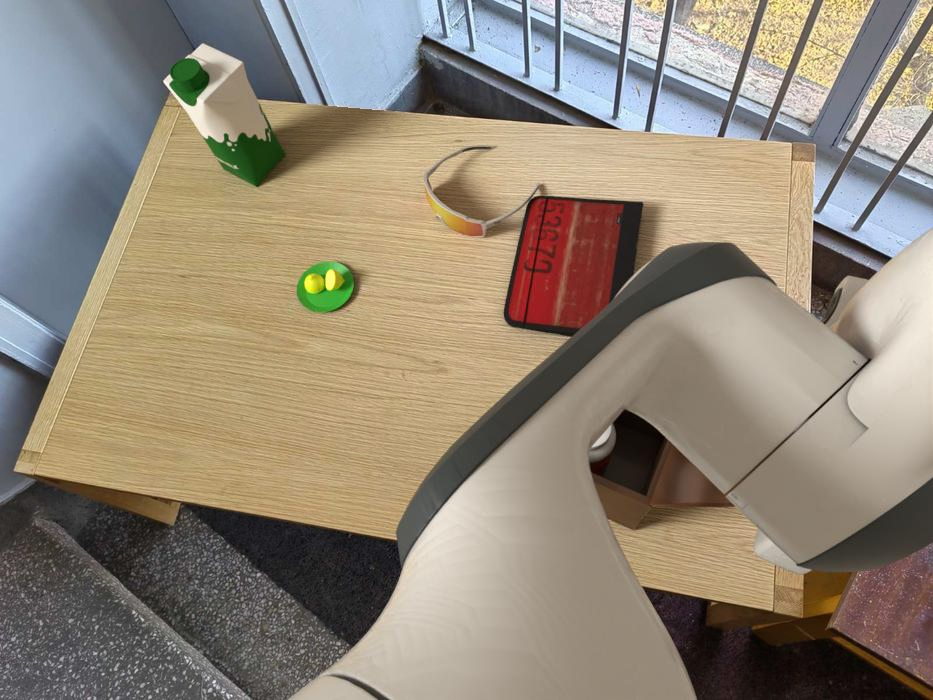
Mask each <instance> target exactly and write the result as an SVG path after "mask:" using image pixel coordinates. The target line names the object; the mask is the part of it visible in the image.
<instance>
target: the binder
mask: <svg viewBox="0 0 933 700" xmlns="http://www.w3.org/2000/svg"><path fill="white" fill-rule="evenodd" d="M643 208H644V201H632V200H615V199H597V198H583V197H570V196H553V195H536V196H533V197H532V198H531V199H530V200H529V201H528V202H527V203H526V208H525V211H524V217H523V220H522V223H521V229H520V231H519V232H520V233H519V237H518V242H517V246H516V249H515V255H514V260H513V264H512V269H511V273H510V277H509V281H508V287H507V292H506V296H505V302H504V307H503V319H504V321H505V323H506V324H507V325H509V326H510V327H512V328H516V329H521V330H527V331H533V332H538V333H545V334H552V335H559V336H565V337H569V338H571V337H572V336H573V335H574V334H575V333H577V332H578V331H579V330H580V329H581V328H582V327H584V326H585V325H586V324H587V323H588V322H589V321H591V320H592V319H593V318H594V317H595V316H596V315H597V314H599V313H600V312H601V311H602V310H603V309H604V308H605V307H606V306H607V305H608V304H609V303H610V302H611V301H612V300H613V299H614V298H615V296H616V295H617V293H618V292H619V291H620V290H621V288H622V287H623V286H624V285H625V283H626V282H627V281H628V280H629V279H630V278H631V277H632V276H633V275H634V274H635V265H636V257H637V251H638V242H639V237H640V229H641V223H642V214H643Z"/></svg>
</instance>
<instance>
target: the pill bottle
mask: <svg viewBox="0 0 933 700" xmlns="http://www.w3.org/2000/svg"><path fill="white" fill-rule="evenodd" d="M615 441H616V432H615V428H614V425H613V423H612V424H611V425H610V427H609V428H608V429H607V430H606V431H605V432H604V433H603V434H602V436H601V437H600V438H599V439H598V440H597V441H596V442H595V444H594V445H593V446H592V447H591V448H590V449H589V464H590V470H591V472H592V473H594V474H596V475H600V474H601V473H602V472H603V471H604V470H605V469H606V467H607V465H608V463H609V460H610V457H611V454H612V451H613V449H614V446H615Z"/></svg>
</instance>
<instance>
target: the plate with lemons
mask: <svg viewBox="0 0 933 700" xmlns="http://www.w3.org/2000/svg"><path fill="white" fill-rule="evenodd" d="M354 284H355V282H354V277H353V274H352V272H351V271H350V269H349V268H348V267H346V266H345V265H343V264H342V263H340V262H336V261H323V262H319V263H316V264H313V265H312V266H310V267H309V268H307V270H305V271H304V272H303V273H302V275H301V276H300V278H299V280H298V282H297V285H296V295H297V296H296V297H297V298H298V299H297V300H298V301H299V302H300V304H301V305H302V306H303V307H304V308H306V309H307V310H309V311H311V312H316V313H328V312H331V311H334V310H337V309H339V308H340V307H342V306H343V305H344V304H345V303H346V302H347V301H348V300H349V298H350V297H351V296H352V294H353V290H354V286H355V285H354Z"/></svg>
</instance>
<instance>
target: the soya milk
mask: <svg viewBox="0 0 933 700" xmlns="http://www.w3.org/2000/svg"><path fill="white" fill-rule="evenodd" d="M244 64H245V63H244V62H243V61H241V60H240V59H237V58H235V57H233V56H231V55H229V54H228V53H225V52H223V51H221V50H218V49H216V48H214V47H212V46H210V45H208V44H206V43H204V42H203V43H201V44H200V45H199V46H198V47H197V48H196V49H195V50H194V51H193V52H192V53H190V54H188V55H187V56H185V58H181V59H179V60H177V61H176V62H175V63H173V65H171V67H170V70H169V74H168V75H167V76H166V77H165V78H164V80H162V81H163V84H164V85H165V86H166V87H167V89H168V90H169V91H170V93H171V94H172V95H173V97H174V98H175V99H176V100H177V102H178V103H179V105H181V107H182V108H183V109H184V110H185V112H186V113H187V115H188V116H189V118H190V120H191V121H192V123H193V124H194V125H195V128H196V129H197V131H198V132H199V133H200V135H201V136H202V138H203V140H204V141H205V143H206V145H207V147H209V149H210V151H211V152H212V154H213V155H214V157H215V158H216V160H217V161H218V163H219V165H220V166H221V167H222V169H223V170H224V171H226V172H227V173H229V174H232V175H233V176H235V177H236V178H238V179H241V180H242V181H244V182H246V183H248V184H250V185H251V186H254V187H255V188H258V186H259V185H260V184H261V183H262V182H263V180H264V179H266V177H267V176H268V175H269V174H270V173H271V172H272V170H273V169H274V168H275V167H276V166H277V165H278V164H279V163H280V162H281V161H282V160H283V159H284V158H285V156H286V152H285V150H284V148H283V146H282V145H281V143H280V141H279V139H278V137H277V135H276V133H275V132H274V129H273V127H272V126H271V123H270V122H269V120H268V118H267V116H266V113H265V112H264V109H263V108H262V106H261V104H260V101H259V99H258V98H257V96H256V94H255V92H254V89H253V88H252V86H251V83H250V82H249V79H248V76H247V72H246V68H245V65H244Z"/></svg>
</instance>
